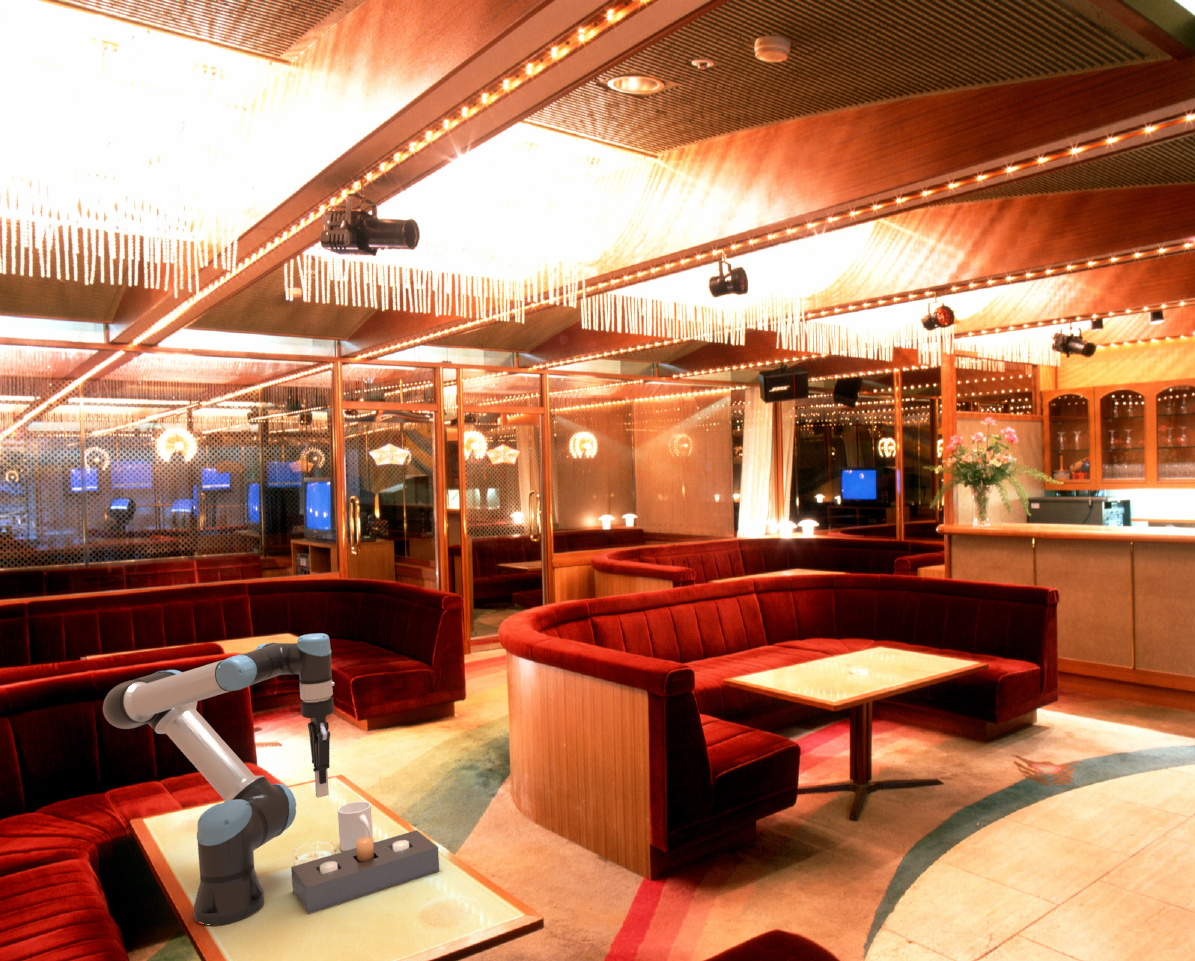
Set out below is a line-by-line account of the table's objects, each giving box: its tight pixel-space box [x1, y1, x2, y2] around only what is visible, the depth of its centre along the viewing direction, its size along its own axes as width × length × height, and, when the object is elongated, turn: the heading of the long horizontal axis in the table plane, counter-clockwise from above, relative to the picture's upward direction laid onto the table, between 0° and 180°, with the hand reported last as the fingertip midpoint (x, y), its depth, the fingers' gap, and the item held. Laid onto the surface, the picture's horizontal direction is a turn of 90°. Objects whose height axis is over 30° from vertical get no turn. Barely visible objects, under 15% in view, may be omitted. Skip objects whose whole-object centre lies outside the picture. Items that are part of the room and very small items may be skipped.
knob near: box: [320, 861, 338, 875], centre depth 203 cm, size 4×4×5 cm
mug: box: [337, 800, 374, 852], centre depth 228 cm, size 9×12×11 cm
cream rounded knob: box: [393, 840, 409, 852], centre depth 213 cm, size 4×4×5 cm
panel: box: [290, 830, 440, 915], centre depth 208 cm, size 32×14×6 cm, turn 124°
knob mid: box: [356, 837, 374, 863], centre depth 208 cm, size 4×4×5 cm
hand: (322, 795), depth 206 cm, fingers closed
